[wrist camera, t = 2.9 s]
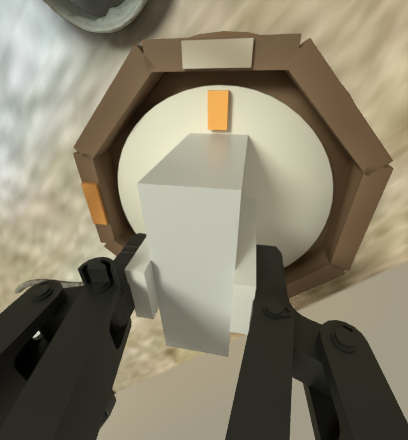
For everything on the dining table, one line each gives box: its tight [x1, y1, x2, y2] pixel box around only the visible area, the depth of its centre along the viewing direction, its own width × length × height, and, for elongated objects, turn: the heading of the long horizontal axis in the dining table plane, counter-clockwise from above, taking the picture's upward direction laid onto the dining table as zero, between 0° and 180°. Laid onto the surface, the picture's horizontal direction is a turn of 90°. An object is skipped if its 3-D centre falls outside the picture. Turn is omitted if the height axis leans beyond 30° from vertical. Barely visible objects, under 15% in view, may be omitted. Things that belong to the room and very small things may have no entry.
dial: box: [118, 84, 333, 357], centre depth 13 cm, size 14×14×8 cm
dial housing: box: [73, 31, 393, 298], centre depth 16 cm, size 18×18×4 cm
